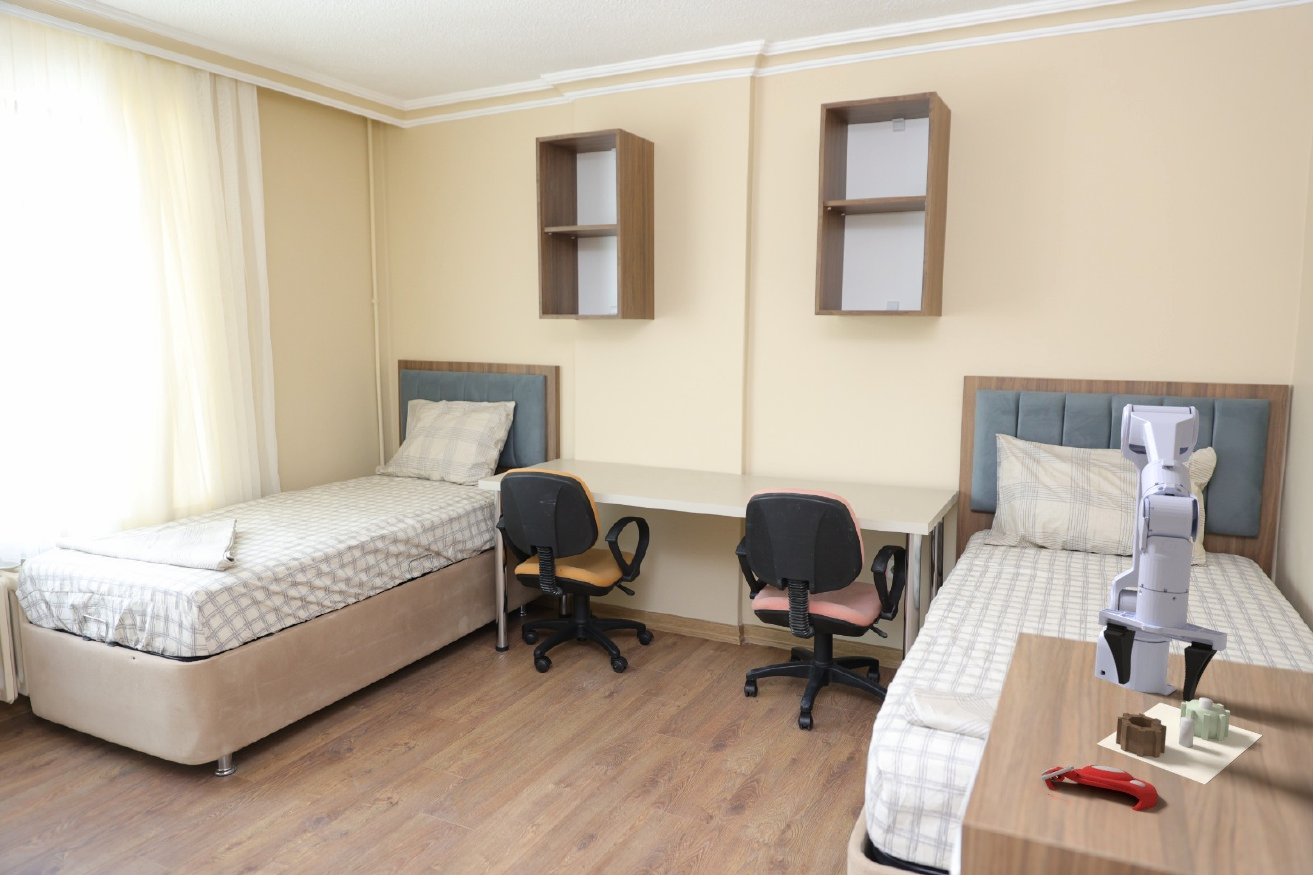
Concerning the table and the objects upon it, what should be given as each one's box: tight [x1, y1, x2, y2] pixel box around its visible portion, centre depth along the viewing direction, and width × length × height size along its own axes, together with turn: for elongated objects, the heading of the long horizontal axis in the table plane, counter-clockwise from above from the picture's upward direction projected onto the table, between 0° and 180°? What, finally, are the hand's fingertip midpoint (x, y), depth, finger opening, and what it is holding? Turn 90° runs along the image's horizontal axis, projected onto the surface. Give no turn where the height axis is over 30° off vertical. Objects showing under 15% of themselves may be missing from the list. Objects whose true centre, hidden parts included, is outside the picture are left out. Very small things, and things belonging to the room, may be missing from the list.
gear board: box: [1096, 697, 1263, 785], centre depth 118 cm, size 13×20×6 cm, turn 129°
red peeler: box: [1040, 764, 1158, 812], centre depth 105 cm, size 12×4×10 cm
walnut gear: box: [1116, 712, 1166, 758], centre depth 116 cm, size 5×5×4 cm
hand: (1155, 690), depth 114 cm, fingers open, 7 cm apart
